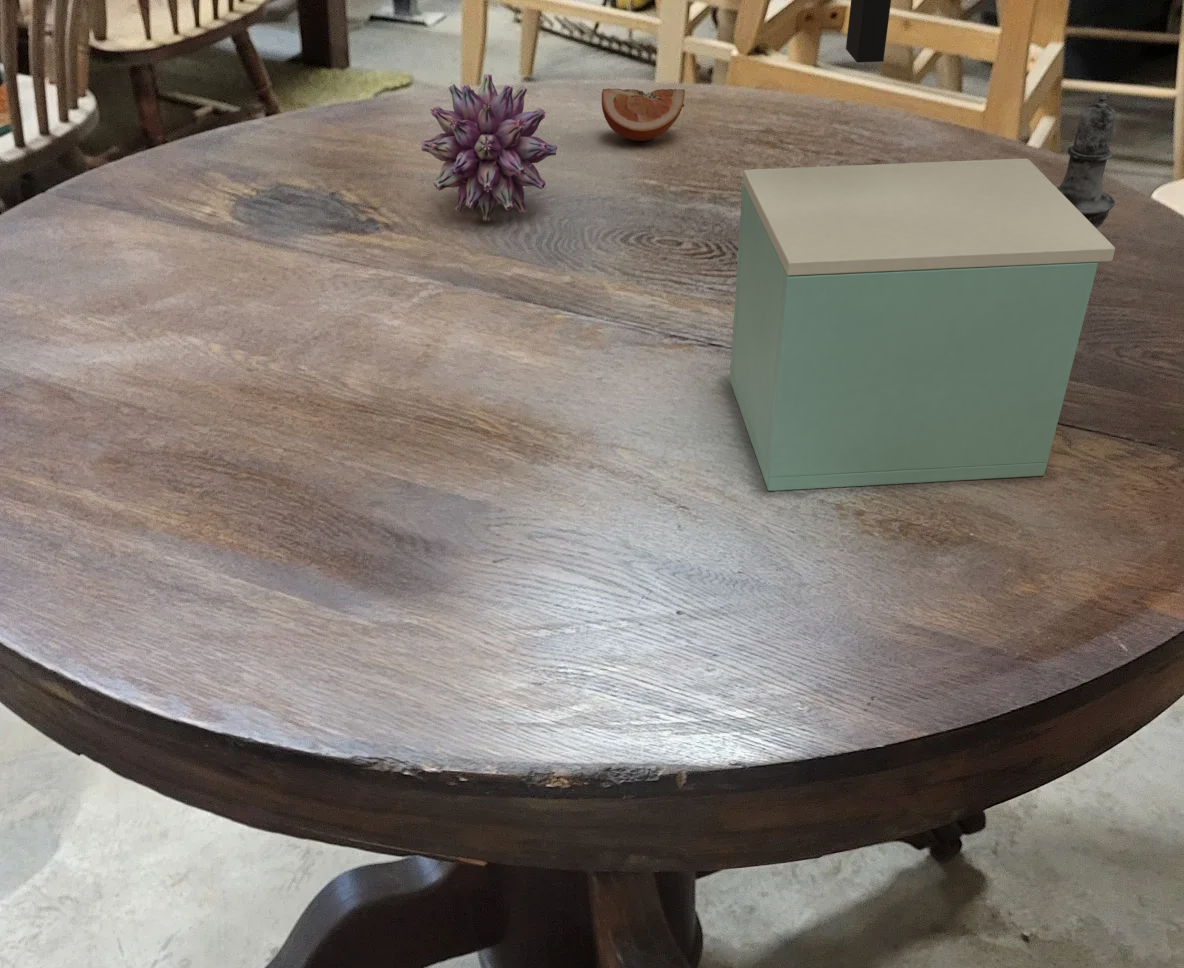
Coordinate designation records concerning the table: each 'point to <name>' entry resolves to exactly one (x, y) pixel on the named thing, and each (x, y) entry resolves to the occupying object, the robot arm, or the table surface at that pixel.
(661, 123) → the fruit slice
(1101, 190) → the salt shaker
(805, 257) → the cool box lid
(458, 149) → the flower
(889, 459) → the green open box
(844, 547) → the table surface
